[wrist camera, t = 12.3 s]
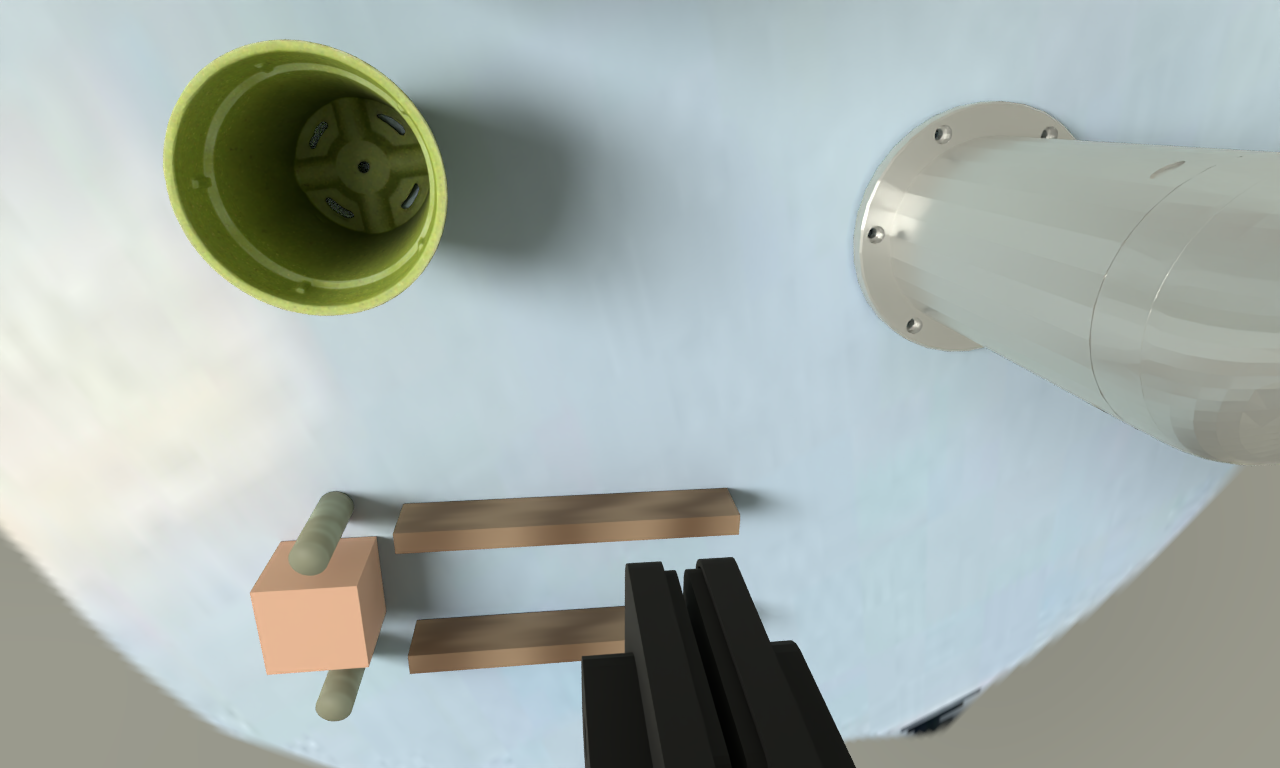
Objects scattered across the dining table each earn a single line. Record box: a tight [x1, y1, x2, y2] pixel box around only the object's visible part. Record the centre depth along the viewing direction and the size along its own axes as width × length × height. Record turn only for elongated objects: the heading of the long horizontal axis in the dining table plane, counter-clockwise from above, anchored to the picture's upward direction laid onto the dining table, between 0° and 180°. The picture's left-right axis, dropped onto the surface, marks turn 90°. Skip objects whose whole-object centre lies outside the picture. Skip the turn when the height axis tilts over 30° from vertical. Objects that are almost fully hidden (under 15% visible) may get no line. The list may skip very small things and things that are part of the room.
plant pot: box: [163, 39, 448, 316], centre depth 30 cm, size 9×9×9 cm
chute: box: [288, 488, 740, 721], centre depth 40 cm, size 22×11×5 cm, turn 89°
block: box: [250, 537, 386, 675], centre depth 39 cm, size 5×5×4 cm
